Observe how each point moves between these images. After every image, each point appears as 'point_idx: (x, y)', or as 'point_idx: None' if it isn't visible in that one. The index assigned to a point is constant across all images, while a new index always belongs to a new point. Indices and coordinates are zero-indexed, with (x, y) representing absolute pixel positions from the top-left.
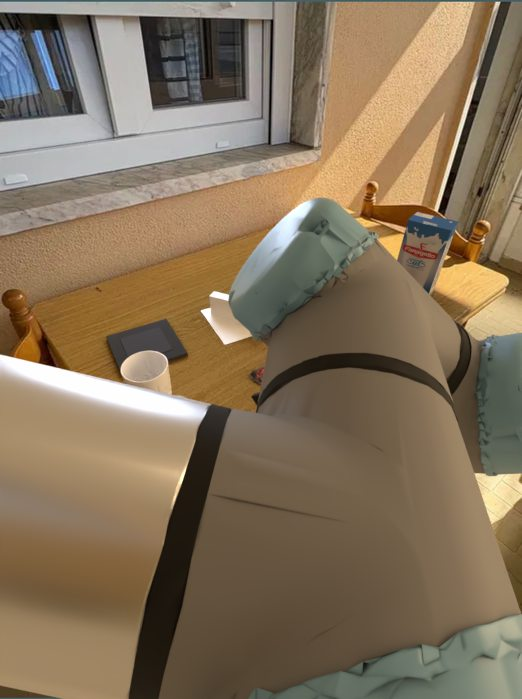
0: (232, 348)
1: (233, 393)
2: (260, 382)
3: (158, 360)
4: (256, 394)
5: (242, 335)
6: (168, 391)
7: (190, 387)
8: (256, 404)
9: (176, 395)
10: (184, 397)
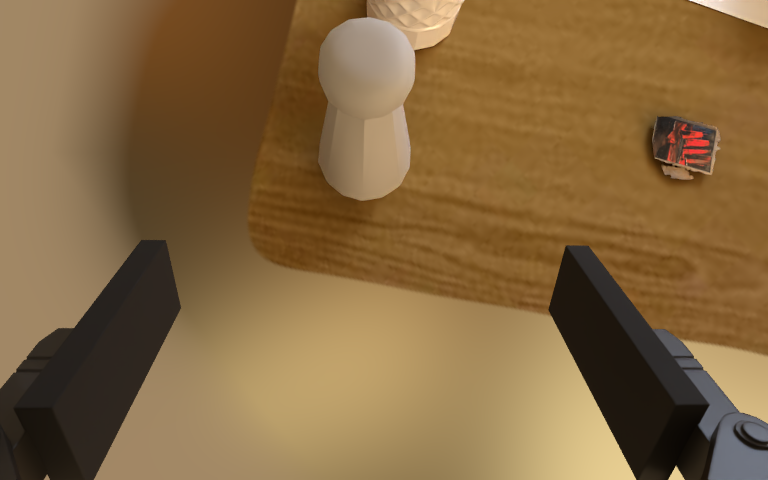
0: (686, 20)
1: (578, 128)
2: (659, 157)
3: None
4: (586, 264)
5: (743, 6)
6: (442, 5)
7: (509, 35)
8: (557, 280)
9: (395, 31)
10: (410, 55)
